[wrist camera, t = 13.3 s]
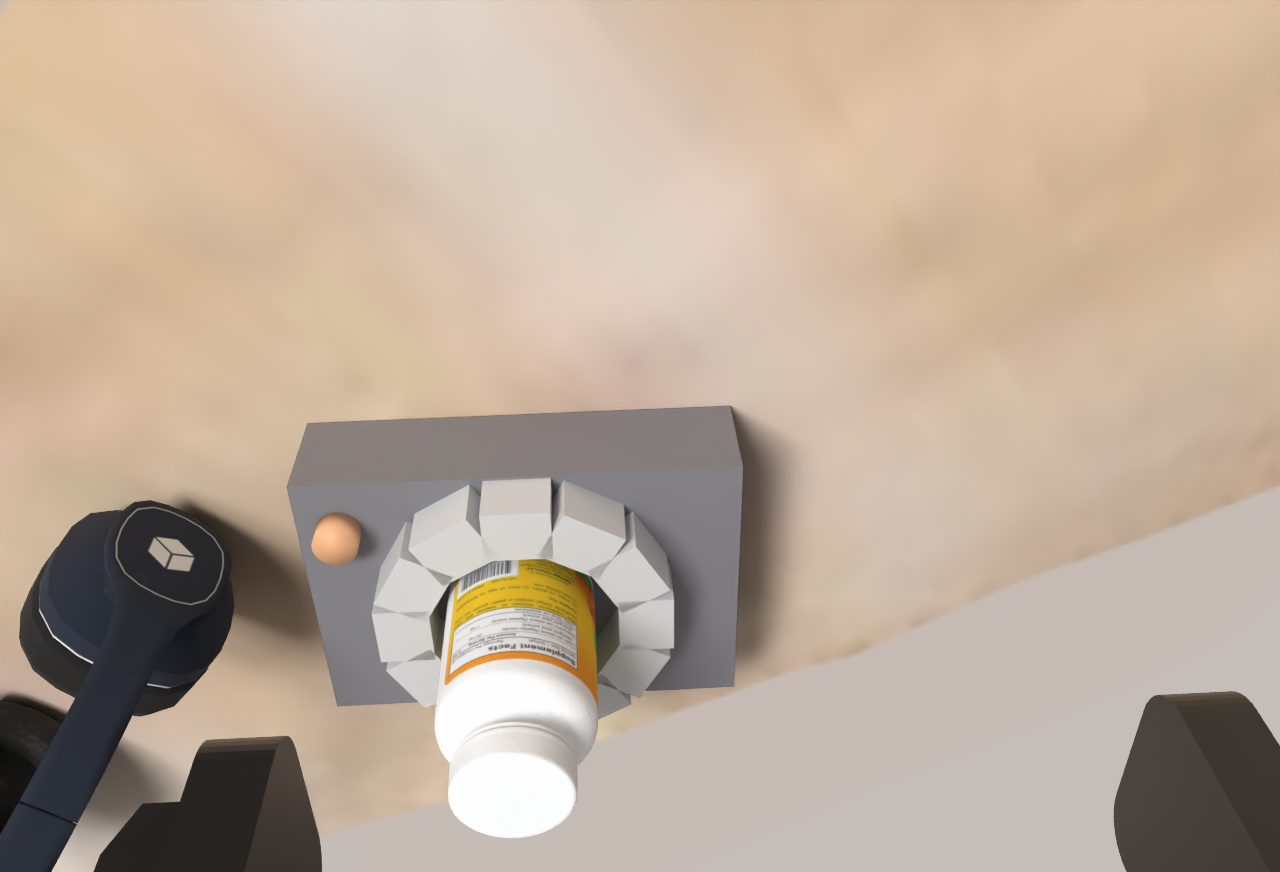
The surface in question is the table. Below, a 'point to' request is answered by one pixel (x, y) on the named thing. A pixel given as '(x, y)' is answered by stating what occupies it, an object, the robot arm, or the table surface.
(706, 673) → the camera body
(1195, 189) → the table surface
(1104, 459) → the table surface
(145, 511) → the headphones
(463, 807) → the supplement bottle
